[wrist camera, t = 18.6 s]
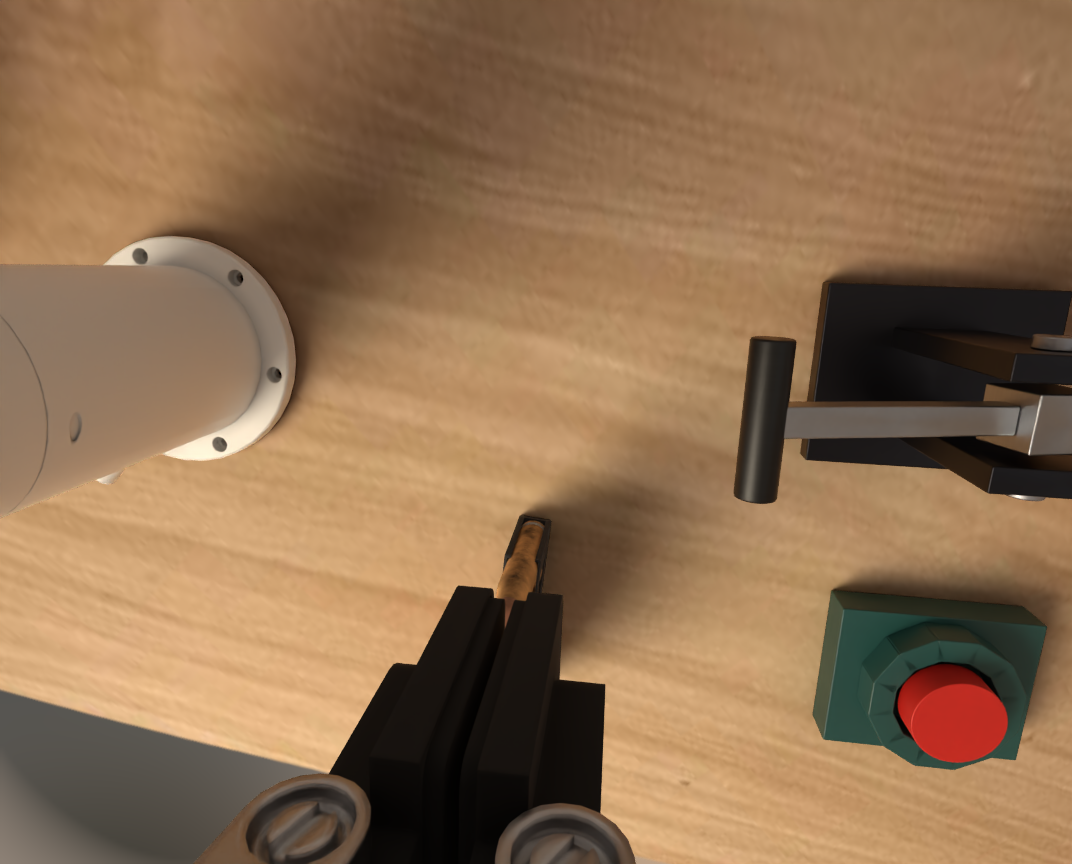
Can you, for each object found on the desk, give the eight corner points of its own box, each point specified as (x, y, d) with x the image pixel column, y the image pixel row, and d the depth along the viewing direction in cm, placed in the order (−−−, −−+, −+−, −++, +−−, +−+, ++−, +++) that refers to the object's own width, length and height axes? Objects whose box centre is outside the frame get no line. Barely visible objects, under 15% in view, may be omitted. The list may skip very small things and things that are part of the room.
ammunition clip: (529, 682, 42) (493, 842, 30) (499, 676, 42) (452, 834, 30) (551, 519, 39) (522, 625, 27) (519, 514, 39) (477, 617, 27)
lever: (720, 487, 25) (752, 510, 22) (736, 334, 23) (772, 342, 21) (1027, 478, 27) (1084, 498, 25) (1057, 339, 26) (1121, 347, 23)
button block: (812, 714, 40) (832, 762, 36) (831, 589, 38) (854, 626, 34) (994, 734, 39) (1035, 785, 35) (1023, 605, 37) (1070, 645, 33)
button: (890, 734, 36) (904, 757, 34) (904, 659, 34) (919, 679, 33) (980, 743, 35) (998, 768, 33) (997, 667, 34) (1016, 688, 32)
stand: (799, 454, 36) (881, 539, 25) (822, 282, 34) (922, 288, 23) (1019, 468, 35) (1211, 564, 24) (1057, 290, 33) (1288, 302, 22)
